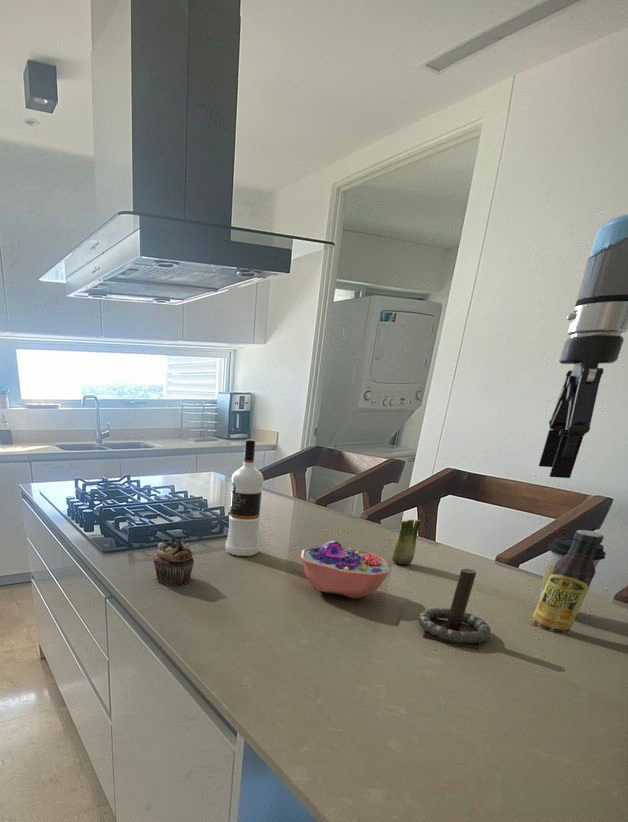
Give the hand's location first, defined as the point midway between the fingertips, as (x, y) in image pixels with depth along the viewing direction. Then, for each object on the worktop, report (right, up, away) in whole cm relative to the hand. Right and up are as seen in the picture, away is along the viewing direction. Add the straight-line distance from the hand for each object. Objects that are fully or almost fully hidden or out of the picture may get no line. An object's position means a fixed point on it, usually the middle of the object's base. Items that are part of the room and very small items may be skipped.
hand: (552, 471), depth 86 cm
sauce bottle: (+6, -29, +9) cm, 31 cm away
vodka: (-49, -10, +49) cm, 70 cm away
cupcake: (-68, -18, +30) cm, 76 cm away
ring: (-15, -27, +5) cm, 32 cm away
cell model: (-30, -21, +24) cm, 44 cm away
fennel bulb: (-7, -13, +43) cm, 46 cm away
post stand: (-15, -30, +5) cm, 34 cm away
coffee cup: (+14, -25, +18) cm, 34 cm away
